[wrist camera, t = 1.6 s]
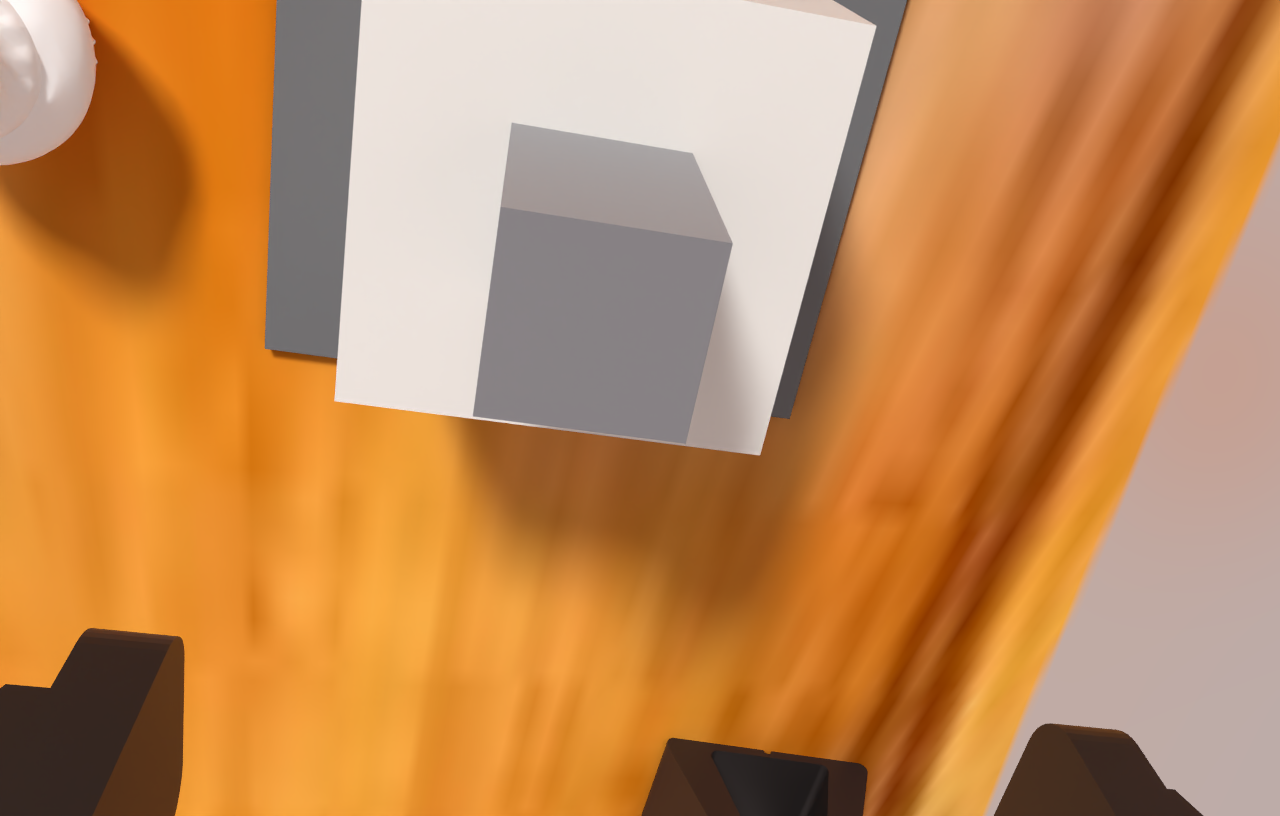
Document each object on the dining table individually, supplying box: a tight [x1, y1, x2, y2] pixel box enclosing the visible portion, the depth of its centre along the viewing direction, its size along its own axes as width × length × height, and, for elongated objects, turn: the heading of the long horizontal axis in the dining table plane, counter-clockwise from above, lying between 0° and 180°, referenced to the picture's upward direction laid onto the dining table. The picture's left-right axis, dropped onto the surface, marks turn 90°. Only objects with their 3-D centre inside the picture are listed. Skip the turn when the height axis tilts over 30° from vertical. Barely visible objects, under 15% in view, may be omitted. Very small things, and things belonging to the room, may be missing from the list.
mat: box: [265, 0, 907, 419], centre depth 34 cm, size 18×18×1 cm
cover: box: [335, 0, 876, 455], centre depth 26 cm, size 11×11×16 cm
